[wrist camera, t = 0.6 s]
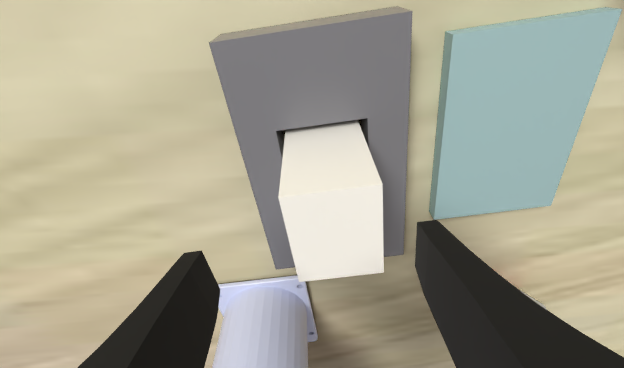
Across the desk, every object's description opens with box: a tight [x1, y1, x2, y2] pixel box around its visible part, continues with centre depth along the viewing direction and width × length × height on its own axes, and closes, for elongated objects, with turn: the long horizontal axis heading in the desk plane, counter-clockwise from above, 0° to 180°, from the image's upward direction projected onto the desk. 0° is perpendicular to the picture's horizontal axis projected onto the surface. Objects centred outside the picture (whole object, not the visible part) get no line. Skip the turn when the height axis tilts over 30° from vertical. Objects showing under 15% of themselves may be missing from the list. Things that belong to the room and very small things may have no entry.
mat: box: [429, 7, 622, 220], centre depth 19 cm, size 12×8×1 cm, turn 8°
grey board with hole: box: [209, 6, 412, 269], centre depth 19 cm, size 15×9×2 cm, turn 8°
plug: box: [278, 120, 384, 282], centre depth 17 cm, size 5×4×8 cm
